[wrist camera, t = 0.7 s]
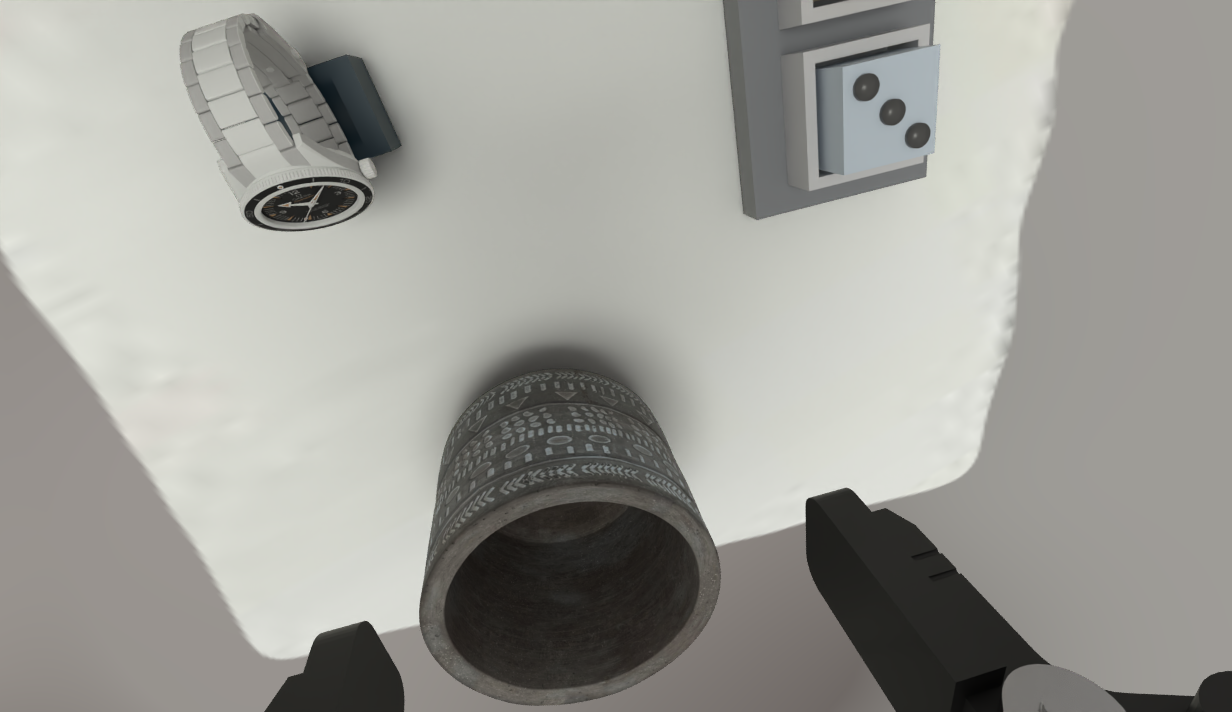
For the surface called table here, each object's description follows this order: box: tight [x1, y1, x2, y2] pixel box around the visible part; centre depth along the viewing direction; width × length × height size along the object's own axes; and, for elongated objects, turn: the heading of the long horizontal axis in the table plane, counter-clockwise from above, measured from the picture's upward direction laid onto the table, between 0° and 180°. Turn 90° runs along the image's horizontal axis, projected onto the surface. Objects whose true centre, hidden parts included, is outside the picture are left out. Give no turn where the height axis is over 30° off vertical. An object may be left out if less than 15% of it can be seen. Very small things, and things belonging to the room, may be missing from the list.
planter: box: [419, 369, 721, 706], centre depth 33 cm, size 14×14×15 cm
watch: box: [180, 14, 402, 231], centre depth 24 cm, size 6×8×11 cm
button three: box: [815, 44, 940, 175], centre depth 29 cm, size 5×5×4 cm
